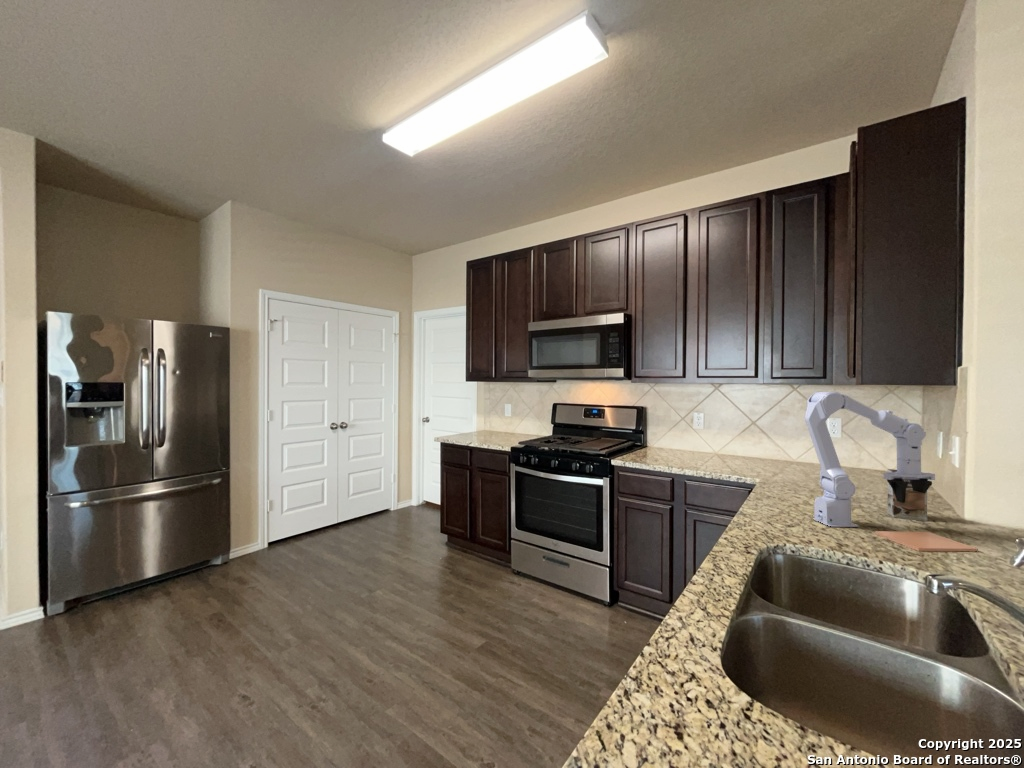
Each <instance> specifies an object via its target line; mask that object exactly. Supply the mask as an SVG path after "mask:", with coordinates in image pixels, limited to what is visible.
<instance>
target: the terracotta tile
mask: <svg viewBox="0 0 1024 768" xmlns="http://www.w3.org/2000/svg"><path fill="white" fill-rule="evenodd" d="M874 533H875V535H877V536H880V537H881V538H885V539H886V540H890V541H893V542H895V543H897V544H899V545H903V546H905V547H907V548H910V549H913V550H915V551H917V552H956V551H970V552H969V553H971V552H973V553H976V552H975V551H977V553H978V552H979V548H977V547H974V546H971V545H968V544H965V543H963V542H959V541H957V540H953V539H950V538H948V537H945V536H942V535H939V534H937V533H933V532H930V531H900V530H899V531H889V530H888V531H887V530H886V531H885V530H883V531H880V530H875V531H874Z"/></svg>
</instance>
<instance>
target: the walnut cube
mask: <svg viewBox="0 0 1024 768" xmlns="http://www.w3.org/2000/svg"><path fill="white" fill-rule="evenodd" d="M895 505H896V506H900V507H903V508H906V509H925V493H921V492H917V491H913V490H906V493H905V502H904V503H902V502H898V501H897V500H896V497H895Z"/></svg>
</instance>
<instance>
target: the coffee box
mask: <svg viewBox="0 0 1024 768" xmlns="http://www.w3.org/2000/svg"><path fill="white" fill-rule="evenodd" d="M888 472H897V469H894V468H893V469H891V468H887V473H888ZM921 473H923V472H922V471H921ZM910 478H913V477H910ZM902 480H904V482H908V485H907V488H906V490H913V488H912V484H911V482H910V479H902ZM886 503H887V506H886V508H887V514H888V515H890V517H892V518H894V519H895V518H896V519H897V518H898V519H905V520H913V521H920V522H921V521H922V522H923V521H924V522H928V491H927V492H926V494H925V509H906V508H903V507H900V506H896V505H895V494H894V491H893V489H892V487H891V486H890V484H889V483H888V482H887V501H886Z"/></svg>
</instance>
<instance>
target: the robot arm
mask: <svg viewBox="0 0 1024 768" xmlns="http://www.w3.org/2000/svg"><path fill="white" fill-rule="evenodd" d="M806 402H807V406H806V407H807V408H806V411H805V416H804V422H805V423H806V427H807V430H808V432H809V437H810V439H811V442H812V444H813V447H814V450H815V453H816V457H817V459H818V462H819V465H820V468H821V469H820V471H819V476H820V479H819V486H820V487H821V489H822V490H823V495H822V496H817V497H815V500H814V517H813V518H812V520H813V519H814V520H813V521H816V522H818V521H819V522H818V523H820V522H821V524H822V523H823V525H825V526H827V525H828V526H827V527H830V526H831V527H833V528H834V527H835V528H839V527H841V528H842V527H843V528H844V527H845V528H847V527H849V528H851V527H852V528H853V527H854V528H859V526H860V525H858V524H856V523H853V522H852V497H853V496H854V495H855V493H856V486H855V484H854V482H853V481H852V480H850V478H849V476H848V473H847V472H846V471H845V470H844V469H843V468H842V467H841V466H842V465H841V463H840V461H839V457H838V455H837V452H836V449H835V445H834V443H833V439H832V437H831V434H830V432H829V429H828V426H827V421H828V419H829V418H830V416H832V415H833V414H835V413H836V412H838V411H839V410H847V411H849V412H852V413H854V414H857V415H859V416H861V417H863V418H866V419H868V420H870V423H871V424H872V425H873V426H874V427H876V428H879V429H880V430H883V431H885V432H887V433H889V434H891V435H892V436H893V437H894V438H896V439H895V440H896V470H897V472H888V471H887V472H883V479H885V480H886V481H887V484H888V483H889V484H890V486H891V487H892V489H893V491H894V494H895V497H896V500H897V501H898V502H902V503H904V502H905V493H906V488H907V485H908V482H904V480H902V479H910V482H911V484H912V488H913V491H917V492H921V493H925V494H926V492H927V493H928V490H929V488H930V487H931V486H932V485H933V482H932V481H935V480H936V477H935V476H936V475H935V473H931V472H922V443H923V442H922V441H923V440H924V439H925V438H926V436H927V432H926V431H925V429H924V428H923V426H921V425H920V424H918V423H915V422H909V419H908V418H905V417H900V416H898V415H896V414H893V413H894V412H893V411H892V410H888V409H886V410H884V409H880V410H876V409H874V408H872V407H869V406H867V405H865V404H863V403H861V402H859V401H858V400H855V399H853V398H852V397H850V396H848V395H846V394H843V393H840V392H838V391H835V390H834V391H816V392H813V393H812V394H811V395H810V396H809V397H808V399H807V400H806ZM921 472H922V473H921ZM910 477H913V478H910Z"/></svg>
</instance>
